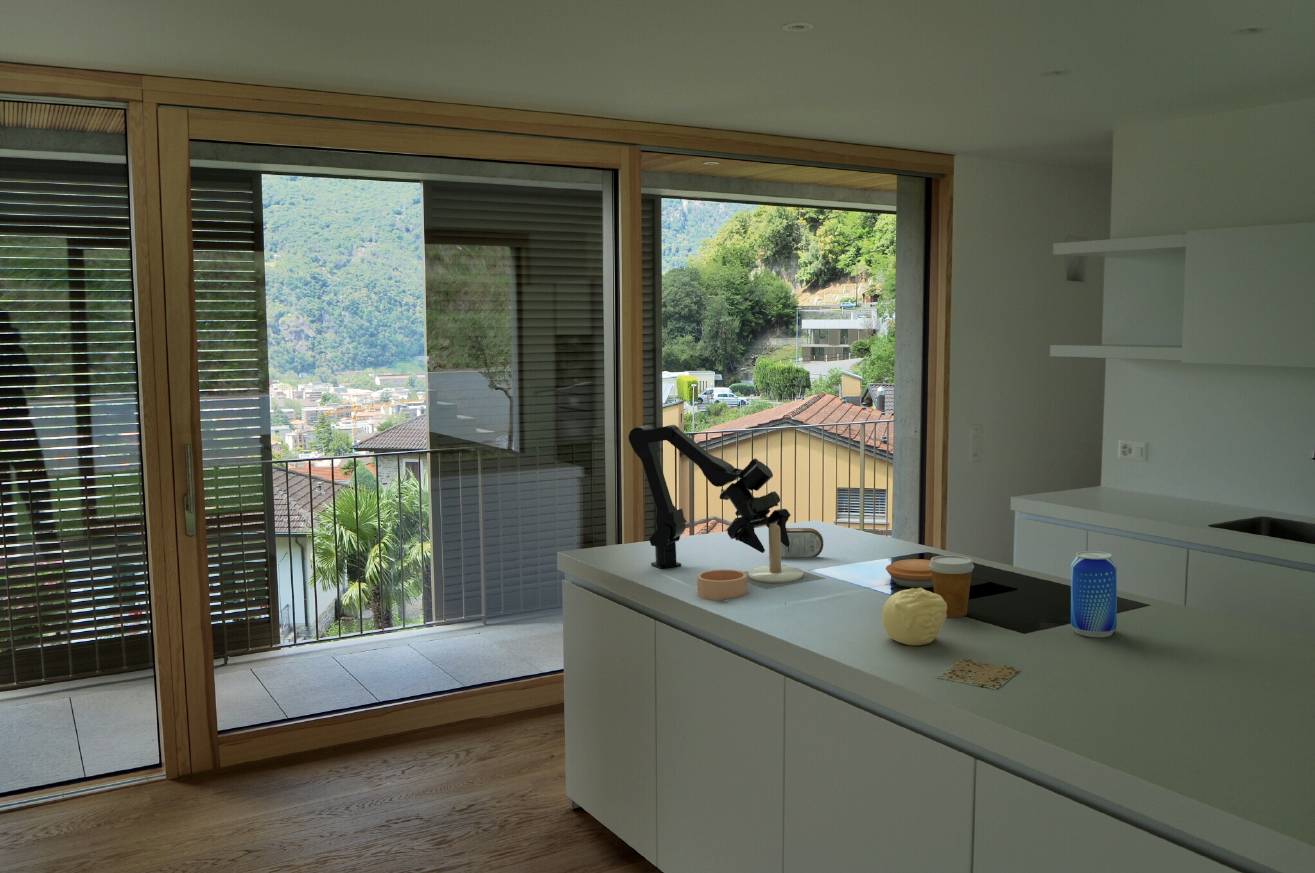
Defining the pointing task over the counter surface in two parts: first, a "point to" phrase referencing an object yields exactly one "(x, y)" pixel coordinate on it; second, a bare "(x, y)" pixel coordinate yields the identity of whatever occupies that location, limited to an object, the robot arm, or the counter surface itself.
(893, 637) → the pale yellow lumpy ball
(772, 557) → the lid
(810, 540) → the tin
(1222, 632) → the counter surface
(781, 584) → the mat
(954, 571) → the disposable coffee cup
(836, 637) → the counter surface
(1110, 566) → the beer can
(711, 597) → the bowl
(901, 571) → the pie
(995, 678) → the cookie
